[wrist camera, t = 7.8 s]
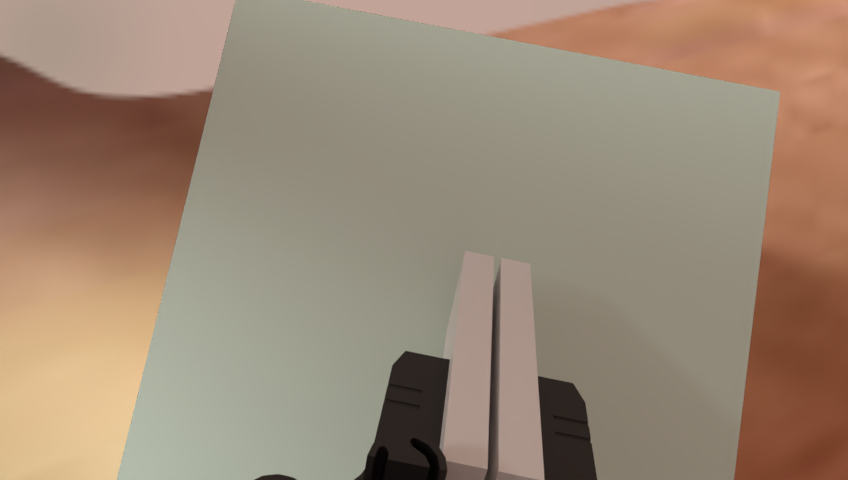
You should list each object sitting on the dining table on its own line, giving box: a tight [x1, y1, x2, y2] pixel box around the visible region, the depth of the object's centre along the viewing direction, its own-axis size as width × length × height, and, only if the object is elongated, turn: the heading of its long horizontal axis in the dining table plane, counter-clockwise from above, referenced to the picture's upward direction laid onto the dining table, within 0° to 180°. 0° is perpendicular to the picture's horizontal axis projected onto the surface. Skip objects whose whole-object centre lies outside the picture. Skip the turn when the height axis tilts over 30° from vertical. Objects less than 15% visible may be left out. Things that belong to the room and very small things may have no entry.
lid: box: [117, 0, 780, 480], centre depth 17 cm, size 15×17×1 cm
